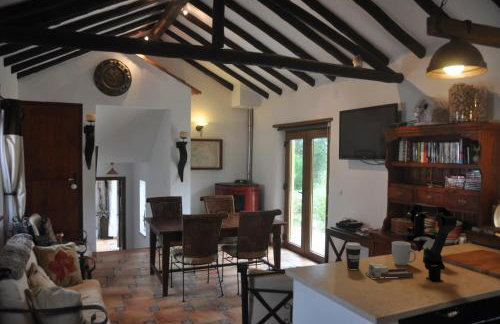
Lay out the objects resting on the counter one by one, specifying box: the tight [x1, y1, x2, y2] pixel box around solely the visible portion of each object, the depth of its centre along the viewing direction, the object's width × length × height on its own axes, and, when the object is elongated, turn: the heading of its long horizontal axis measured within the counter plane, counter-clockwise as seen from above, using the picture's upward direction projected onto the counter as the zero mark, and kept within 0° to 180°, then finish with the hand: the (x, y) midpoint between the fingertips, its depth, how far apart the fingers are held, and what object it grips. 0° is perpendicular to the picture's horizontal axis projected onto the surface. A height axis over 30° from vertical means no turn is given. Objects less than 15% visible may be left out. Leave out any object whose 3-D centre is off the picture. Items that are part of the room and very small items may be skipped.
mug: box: [391, 240, 417, 266], centre depth 245 cm, size 15×11×13 cm
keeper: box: [376, 263, 389, 274], centre depth 223 cm, size 6×5×4 cm
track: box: [365, 262, 414, 278], centre depth 224 cm, size 9×24×6 cm, turn 98°
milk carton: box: [422, 230, 438, 263], centre depth 248 cm, size 9×9×20 cm
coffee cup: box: [344, 241, 362, 270], centre depth 237 cm, size 10×10×15 cm
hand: (419, 251), depth 230 cm, fingers closed
